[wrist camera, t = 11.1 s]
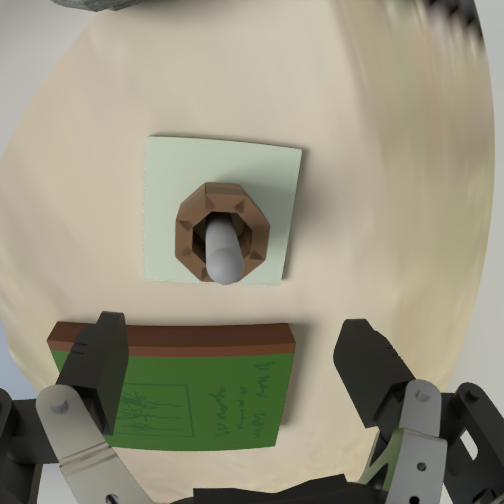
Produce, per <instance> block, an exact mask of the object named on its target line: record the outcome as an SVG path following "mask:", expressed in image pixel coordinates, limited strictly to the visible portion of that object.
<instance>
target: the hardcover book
mask: <svg viewBox="0 0 504 504" xmlns="http://www.w3.org/2000/svg"><path fill="white" fill-rule="evenodd" d="M86 325H87V323H71V322H57V323H56V325H55V326H54V328H53V330H52V332H51V333H50V335H49V337H48V339H47V343H48V345H49V348H50V350H51V353H52V356H53V358H54V361H55V363H56V365H57V368H58V370H59V373H60V372H61V370H62V368H63V365H64V363H65V361H66V358H67V356H68V354H69V353H70V349H71V347H72V345H74V341H75V339H76V337H77V334H78V332H79V331H81V330H82V329H83V328H84V327H85V326H86ZM94 325H96V324H94ZM126 332H127V340H128V347H129V359H128V365H127V370H126V374H125V378H124V383H123V387H122V392H121V397H120V402H119V407H118V412H117V417H116V422H115V427H114V433H113V436H109V435H103V437H104V439H105V441H106V442H107V444H108V445H109V446H112V447H121V448H132V449H144V450H163V451H220V450H239V449H252V448H262V447H272V446H275V443H276V439H277V435H278V430H279V426H280V421H281V416H282V412H283V407H284V402H285V397H286V392H287V387H288V382H289V377H290V372H291V366H292V361H293V355H294V350H295V344H296V342H295V340H294V337H293V335H292V332H291V330H290V327H289V325H288V323H276V324H255V325H225V326H136V325H126Z"/></svg>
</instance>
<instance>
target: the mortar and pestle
mask: <svg viewBox="0 0 504 504" xmlns="http://www.w3.org/2000/svg"><path fill="white" fill-rule="evenodd" d="M51 1H53V2H54V3H56V4H59V5H62V6H65V7H70V8H77V9H83V10H88V11H94V12H98V11H102V10H105V9H109V10H113V11H117V10H120V9H123V8H126V7H129V6H132V5H135V4H138V3H139V2H140V1H141V0H51Z"/></svg>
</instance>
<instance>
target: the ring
mask: <svg viewBox="0 0 504 504" xmlns="http://www.w3.org/2000/svg"><path fill="white" fill-rule="evenodd" d="M211 211H216V212H234V213H238V214H239V216H240V217H241V218H242V219H243V220H244V229H243V233H242V234H241V235H240V236H239V237H237V239H238V242H239V246H240V249H241V253H242V256H243V260H244V271H243V274H242V276H241V277H240V278H239V279H238V280H237V281H236V282H234V283H237V282H239V281H240V280H242V279H243V278H244V277H245V276H247V275H248V274H249V273H250V272H252V271H253V270H254V269H255V268H257V267H258V266H259V265H260V264H262V263H263V262H264V261H265V260H266V255H267V248H268V240H269V233H270V223H269V222H268V220H267V219H266V217H265V216H264V214H263V212H262V211H261V209H260V208H259V207H258V205H257V204H256V203H255V202H254V201H253V199H252V198H251V197H250V196H249V195H248V194H247V192H246V191H245V190H244V189H243V188H242V187H241V185H240V184H233V183H217V182H206V183H204V184H202V185H201V186H200V187H199V188H198V189H197V190H195V191H194V192H193V193H192V194H191V195H190V196H189V197H188V198H186V199H185V200H184V201H183V202H182V203H181V204H180V207H179V210H178V214H177V217H176V220H175V257H176V258H177V259H178V260H179V261H180V262H181V263H182V264H183V265H184V266H185V267H186V268H187V269H188V270H189V271H190V272H191V273H192V274H193V275H194V276H195V277H196V278H197V279H199V280H200V281H201V282H215V281H214V280H212V279H211V278H210V276H209V274H208V272H207V268H206V243H205V242H204V241H203V240H202V239H201V237H200V236H199V235H198V234H197V233H196V232H195V231H194V226H195V225H196V224H197V223H199V222H200V221H201V220H202V219H203V218H204V217H206V216H207V215H208V214H209V213H210V212H211Z"/></svg>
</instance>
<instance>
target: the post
mask: <svg viewBox="0 0 504 504" xmlns="http://www.w3.org/2000/svg"><path fill="white" fill-rule="evenodd" d="M301 154H302V150H301V149H297V148H289V147H282V146H274V145H266V144H258V143H249V142H239V141H228V140H216V139H202V138H186V137H163V136H147V139H146V154H145V172H144V202H143V254H144V280H155V281H173V282H192V283H214V284H223V285H228V284H238V285H267V286H280V284H281V278H282V273H283V267H284V261H285V255H286V250H287V244H288V238H289V232H290V225H291V219H292V213H293V207H294V200H295V194H296V187H297V181H298V174H299V167H300V161H301ZM206 182H217V183H233V184H240V185H241V187H242V188H243V189H244V190H245V191H246V192H247V194H248V195H249V196H250V197H251V198H252V199H253V201H254V202H255V203H256V204H257V205H258V207H259V208H260V209H261V211H262V212H263V214H264V216H265V217H266V219H267V220H268V222H269V223H270V233H269V240H268V248H267V255H266V260H265V261H264V262H263V263H262V264H260V265H259V266H258V267H257V268H255V269H254V270H253V271H252V272H250V273H249V274H248V275H247V276H245V277H244V278H243V279H242V280H240V281H239V282H237V283H234V282H236V281H237V280H238V279H239V278H240V277H241V276H242V274H243V271H244V260H243V256H242V253H241V249H240V246H239V242H238V239H237V237H239V236H240V235H241V234H242V233H243V229H244V220H243V219H242V218H241V217H240V216H239V214H238V213H234V212H216V211H211V212H210V213H209V214H208V215H207V216H206V217H204V218H203V219H202V220H201V221H200V222H199V223H197V224H196V225H195V226H194V231H195V232H196V233H197V234H198V235H199V236H200V237H201V239H202V240H203V241H204V242H205V243H206V268H207V272H208V274H209V276H210V278H211V279H212V280H214V281H215V282H201V281H200V280H199V279H197V278H196V277H195V276H194V275H193V274H192V273H191V272H190V271H189V270H188V269H187V268H186V267H185V266H184V265H183V264H182V263H181V262H180V261H179V260H178V259H177V258H176V257H175V220H176V217H177V214H178V210H179V207H180V204H181V203H182V202H183V201H184V200H185V199H186V198H188V197H189V196H190V195H191V194H192V193H193V192H194V191H195V190H197V189H198V188H199V187H200V186H201V185H202V184H204V183H206Z"/></svg>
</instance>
